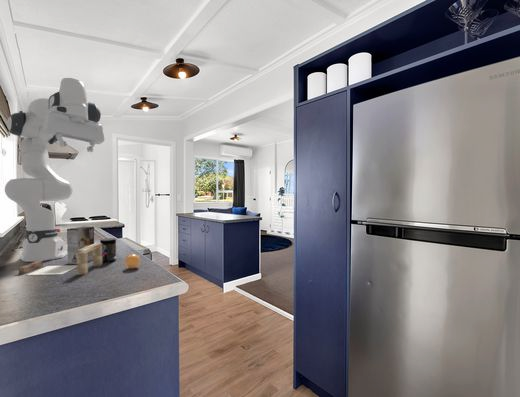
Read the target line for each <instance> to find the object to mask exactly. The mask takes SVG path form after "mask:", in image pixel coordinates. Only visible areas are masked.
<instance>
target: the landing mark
mask: <svg viewBox="0 0 520 397" xmlns="http://www.w3.org/2000/svg"><path fill="white" fill-rule="evenodd" d="M74 269H77V264H73V265H72V264H70V265H69V264H68V265H46V266H45V267H41V268H38V269H36V270H33V271H31V272H29V273H26V276H49V275H50V276H51V275H52V276H53V275H57V276H58V275H64V274H66V273H68V272H70V271H72V270H74Z"/></svg>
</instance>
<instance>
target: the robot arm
mask: <svg viewBox="0 0 520 397" xmlns="http://www.w3.org/2000/svg"><path fill="white" fill-rule="evenodd" d="M87 98H88V97H87V91H86V87H85V84H84V83H83V82H82V81H80V80H78V79H75V78H72V77H64V78H62V79H61V81H60V87H59V90H58V91H57V92H55V93H54V94H51V95H50V96H49V98H47V97H41V98H37V99H34V100H33V101H31V102H30V103H29V105H28V109H27V111H25V112H23V110H19V112H14V113H12V114H11V115H9V117H8V118H7V120H6V127H7V130H8V132H9V133H10V134H11V135H14V136H17V137H22V138H24V139H23V140H22V141H21V143H20V159H21V166H22V170H23V172H24V174H26V175H28V176H29V177H23V178H22V177H21V178H12V179H9V181H7V182H6V184H5V186H4V193H5V195H6V196H7V198H8V199H10V200H11V201H13V202H14V203H16V204H18V206H19V207H20V208H21V209H22V211H23V214H24V216H25V225H26V226H25V229H26V230H25V232H24V238H25V240H24V241H23V243H22V253H21V256H20V257H19V260H22V262H26V263H27V262H31V263H34V262H36V261H43V262H44V261H50V260H56V259H63V258H64V257H66V256H68V254H67V243H66V242H67V241H65V240H63V239H62V238H61V237H60V236H58V235H59V233H61V231H62V230H61V228H56V214H55V212H54V211H53V210H51V209H49V208H46V207H44V206H42V204H41V202H58V201H63V200H68V199H69V198H70V197H71V196H72V195H73V194H72V193H73V187H72V184H71V183H70V182H69V181H67V180H65V179H64V178H62V177H61V176H60V175H58V174H57V173H56V172H55V171H54V170H53V167H52V163H51V161H50V156H49V152H48V149H47V146H48V144H49V145H54V143H57V142H58V143H59V147H62V148H66V147H67V141H65V140H64V139H63V138H65V139H66V138H67V139H72V140H75V141H76V140H77V141H81V142H87V143H89V145H90V146H88V147H86V149H87V150H86V151H87V152H89V153H92V152H94V147H95V145H101V144H102V143H104V142H105V135H104V130H103V126H102V125H101V124H100V123H99V122H100V120H101V115H102V114H101V110H100V108H99V107H98V106H97V105H96V103H93V102H88V99H87Z"/></svg>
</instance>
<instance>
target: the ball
mask: <svg viewBox="0 0 520 397" xmlns="http://www.w3.org/2000/svg"><path fill="white" fill-rule="evenodd" d="M124 264H125V267H127V268H129V269H136V268H137V267H138V266H139V265H140V264H141V258H140V256H139V255H137V254H135V253H133V254H132V253H131V254H129V255H127V256H126V258H125V260H124Z"/></svg>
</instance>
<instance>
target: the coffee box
mask: <svg viewBox="0 0 520 397" xmlns="http://www.w3.org/2000/svg"><path fill="white" fill-rule="evenodd" d="M66 236H67V237H66V240H67V241H66V242H67V243H66V250H67V254H68V255H67V264H68V265H69V264H70V265H72V264H73V265H77V250H79V249H82V248H84V247H87V246H89V245H92V244H95V226H78V227H77V226H76V227H69V228H66ZM91 261H93V250H91V251H89V252H88V262H91Z"/></svg>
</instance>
